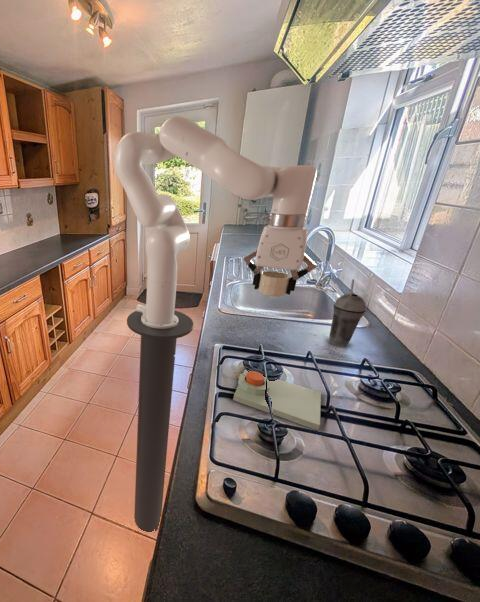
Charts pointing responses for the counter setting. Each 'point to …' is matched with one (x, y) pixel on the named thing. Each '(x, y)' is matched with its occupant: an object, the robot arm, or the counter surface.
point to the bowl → (273, 283)
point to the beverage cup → (346, 317)
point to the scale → (282, 400)
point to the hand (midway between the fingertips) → (272, 289)
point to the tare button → (255, 378)
